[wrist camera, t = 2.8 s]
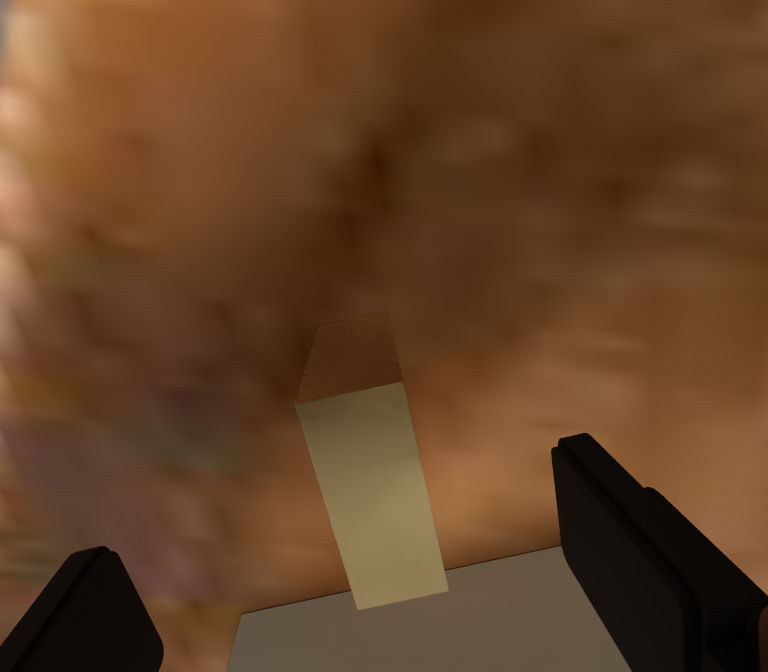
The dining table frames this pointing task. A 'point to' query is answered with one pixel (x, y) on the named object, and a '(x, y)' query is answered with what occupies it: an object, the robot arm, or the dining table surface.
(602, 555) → the robot arm
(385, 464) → the beige flat block
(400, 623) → the coin box
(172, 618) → the dining table surface
